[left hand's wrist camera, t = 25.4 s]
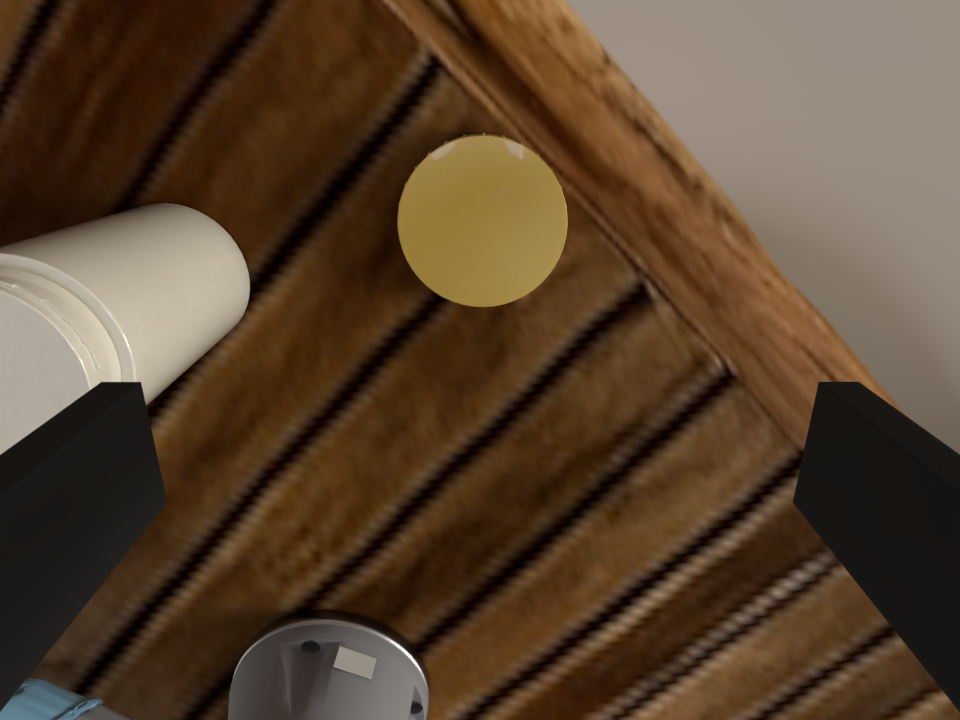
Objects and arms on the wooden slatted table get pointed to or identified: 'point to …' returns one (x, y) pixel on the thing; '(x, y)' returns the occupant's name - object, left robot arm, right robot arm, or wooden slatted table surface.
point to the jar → (112, 308)
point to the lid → (482, 220)
